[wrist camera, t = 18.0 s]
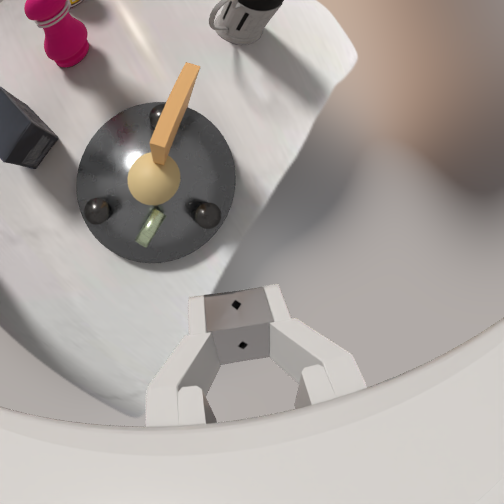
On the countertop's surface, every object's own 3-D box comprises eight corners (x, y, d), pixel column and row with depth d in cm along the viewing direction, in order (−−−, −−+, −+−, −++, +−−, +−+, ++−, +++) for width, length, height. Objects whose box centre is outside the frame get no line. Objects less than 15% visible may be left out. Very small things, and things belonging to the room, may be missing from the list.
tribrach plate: (177, 288, 40) (179, 296, 37) (54, 208, 32) (44, 208, 28) (260, 163, 41) (270, 159, 37) (142, 81, 33) (141, 70, 29)
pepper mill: (87, 66, 29) (55, -8, 11) (49, 74, 27) (2, 12, 8) (95, 33, 28) (75, -43, 9) (58, 41, 26) (25, -25, 7)
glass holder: (271, 31, 37) (310, -14, 23) (217, 69, 36) (245, 17, 22) (237, 4, 34) (266, -45, 20) (180, 39, 33) (193, -18, 19)
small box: (3, 136, 26) (-29, 122, 17) (27, 104, 27) (-1, 82, 17) (34, 171, 30) (1, 164, 20) (60, 137, 31) (32, 119, 21)
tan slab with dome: (170, 211, 36) (174, 215, 23) (122, 197, 34) (101, 194, 21) (204, 115, 35) (226, 75, 22) (159, 101, 33) (160, 55, 20)
